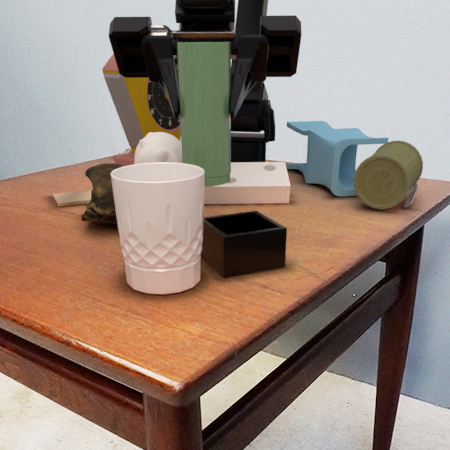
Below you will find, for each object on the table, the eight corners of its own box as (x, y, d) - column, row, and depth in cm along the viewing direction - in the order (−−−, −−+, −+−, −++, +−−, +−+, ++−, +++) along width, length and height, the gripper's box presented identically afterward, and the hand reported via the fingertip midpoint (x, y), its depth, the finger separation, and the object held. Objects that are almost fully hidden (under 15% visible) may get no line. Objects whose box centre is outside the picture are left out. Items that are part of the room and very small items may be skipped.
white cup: (124, 265, 53) (115, 162, 49) (204, 263, 54) (202, 161, 49) (116, 300, 46) (105, 183, 42) (209, 296, 47) (207, 180, 42)
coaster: (91, 193, 79) (91, 190, 79) (99, 202, 75) (98, 198, 74) (53, 197, 77) (52, 193, 77) (58, 206, 73) (57, 203, 72)
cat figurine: (161, 128, 72) (166, 114, 83) (98, 172, 74) (111, 153, 85) (198, 182, 76) (198, 162, 86) (137, 222, 78) (145, 198, 89)
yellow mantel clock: (138, 175, 89) (127, 29, 80) (102, 168, 94) (88, 30, 85) (222, 155, 105) (221, 31, 95) (187, 150, 110) (183, 31, 101)
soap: (137, 158, 102) (136, 153, 102) (114, 157, 103) (113, 152, 103) (151, 150, 111) (151, 146, 111) (130, 149, 112) (129, 145, 112)
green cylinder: (225, 174, 59) (225, 41, 53) (234, 184, 54) (234, 41, 49) (180, 176, 58) (174, 42, 52) (185, 187, 54) (179, 42, 48)
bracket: (194, 210, 74) (191, 158, 69) (195, 185, 80) (193, 135, 75) (288, 209, 74) (293, 157, 69) (283, 184, 80) (287, 135, 75)
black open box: (255, 246, 58) (256, 210, 56) (285, 267, 53) (287, 227, 51) (199, 255, 56) (198, 217, 54) (223, 278, 50) (223, 237, 49)
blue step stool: (330, 197, 76) (284, 169, 94) (381, 194, 78) (326, 167, 95) (335, 139, 73) (286, 121, 90) (388, 137, 74) (330, 120, 92)
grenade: (379, 228, 71) (405, 195, 82) (427, 199, 66) (447, 169, 78) (342, 175, 70) (373, 149, 81) (388, 143, 65) (414, 120, 77)
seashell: (90, 198, 75) (97, 147, 72) (154, 211, 76) (164, 162, 73) (64, 234, 60) (71, 172, 57) (145, 250, 61) (155, 190, 58)
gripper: (102, -81, 50) (85, 52, 45) (305, -84, 49) (311, 51, 44) (126, 18, 61) (114, 135, 55) (293, 16, 60) (297, 135, 55)
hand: (203, 115), depth 52 cm, fingers closed on green cylinder, 5 cm apart
